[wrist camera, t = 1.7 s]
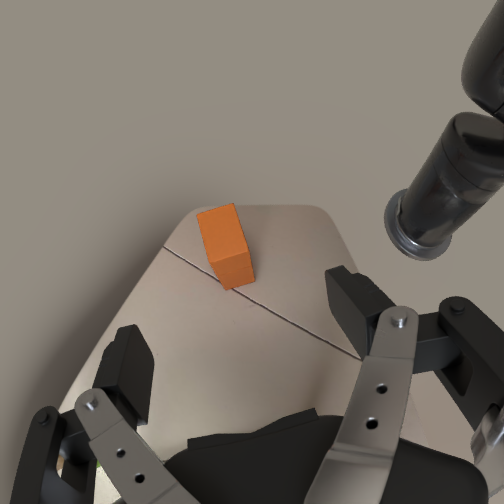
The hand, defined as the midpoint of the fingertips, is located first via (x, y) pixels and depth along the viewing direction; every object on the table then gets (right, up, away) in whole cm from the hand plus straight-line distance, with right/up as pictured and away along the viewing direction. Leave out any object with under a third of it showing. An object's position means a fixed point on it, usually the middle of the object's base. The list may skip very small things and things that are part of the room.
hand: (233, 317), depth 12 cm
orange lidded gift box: (-2, +1, +29) cm, 29 cm away
